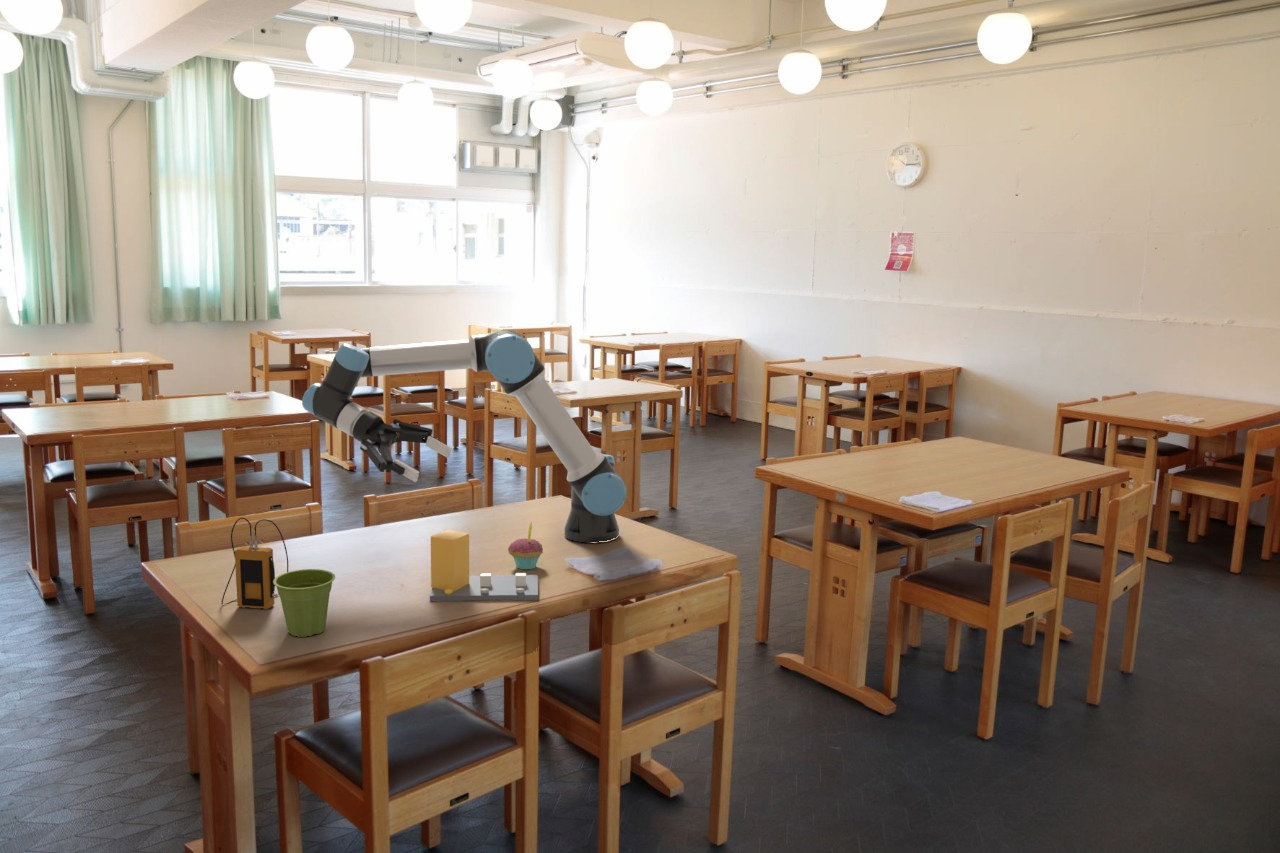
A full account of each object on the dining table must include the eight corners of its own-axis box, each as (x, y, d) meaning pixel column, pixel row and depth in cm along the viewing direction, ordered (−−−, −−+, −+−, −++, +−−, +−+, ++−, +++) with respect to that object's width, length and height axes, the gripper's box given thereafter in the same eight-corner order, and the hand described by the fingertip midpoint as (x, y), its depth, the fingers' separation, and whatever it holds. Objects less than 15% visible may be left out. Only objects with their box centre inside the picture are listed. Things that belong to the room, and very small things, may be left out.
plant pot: (273, 624, 205) (271, 572, 203) (333, 617, 209) (331, 566, 207) (277, 645, 194) (275, 590, 192) (339, 638, 199) (338, 584, 197)
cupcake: (549, 567, 247) (550, 520, 245) (523, 574, 241) (524, 526, 238) (527, 559, 252) (527, 513, 250) (501, 566, 246) (501, 519, 244)
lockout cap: (446, 579, 232) (446, 529, 230) (469, 583, 229) (469, 533, 227) (431, 587, 226) (430, 536, 224) (453, 591, 224) (453, 540, 222)
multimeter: (305, 595, 222) (302, 509, 219) (285, 611, 212) (282, 521, 209) (242, 591, 223) (239, 505, 220) (220, 607, 214) (215, 517, 210)
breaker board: (537, 579, 237) (537, 564, 236) (538, 599, 223) (538, 584, 223) (435, 580, 234) (435, 565, 234) (429, 601, 221) (429, 585, 220)
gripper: (389, 417, 252) (459, 455, 248) (325, 457, 231) (399, 500, 227) (394, 392, 248) (465, 431, 244) (329, 431, 227) (405, 475, 223)
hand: (434, 464), depth 235 cm, fingers open, 13 cm apart
